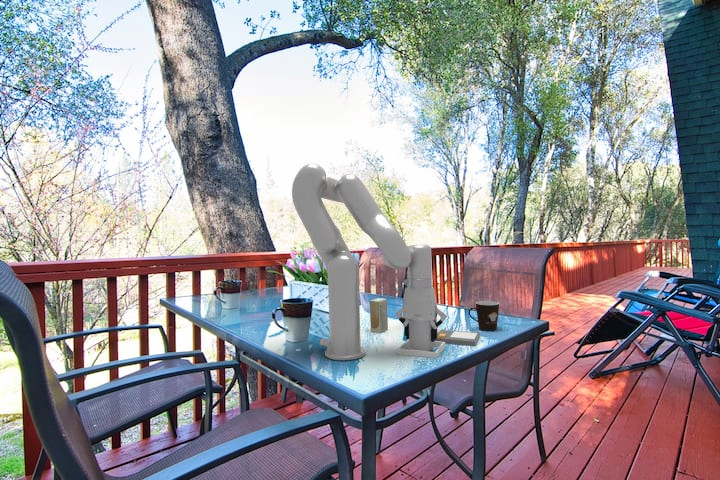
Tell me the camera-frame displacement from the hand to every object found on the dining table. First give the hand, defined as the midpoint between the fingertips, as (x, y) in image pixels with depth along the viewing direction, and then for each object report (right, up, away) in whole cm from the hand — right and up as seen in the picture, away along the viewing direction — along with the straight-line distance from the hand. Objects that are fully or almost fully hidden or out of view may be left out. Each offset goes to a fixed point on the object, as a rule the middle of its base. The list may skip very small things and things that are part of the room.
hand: (420, 339), depth 118 cm
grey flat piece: (+11, -3, +13) cm, 17 cm away
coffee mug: (+28, -3, +25) cm, 37 cm away
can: (0, -4, 0) cm, 4 cm away
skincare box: (-12, -4, +26) cm, 29 cm away
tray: (0, -3, 0) cm, 4 cm away
